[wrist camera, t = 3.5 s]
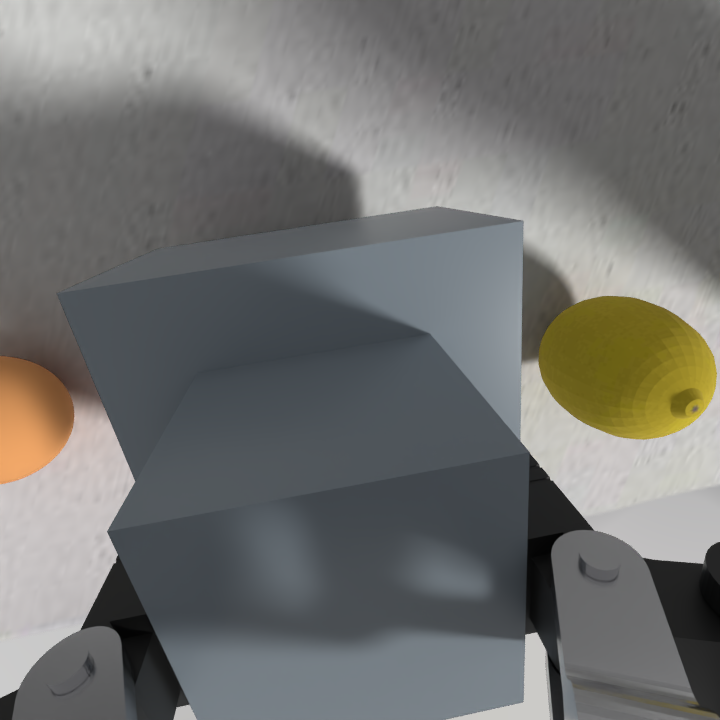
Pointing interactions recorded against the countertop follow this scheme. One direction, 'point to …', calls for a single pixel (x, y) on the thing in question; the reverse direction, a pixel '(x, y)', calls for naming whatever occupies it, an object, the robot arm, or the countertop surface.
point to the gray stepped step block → (324, 463)
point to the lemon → (627, 367)
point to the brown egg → (31, 418)
